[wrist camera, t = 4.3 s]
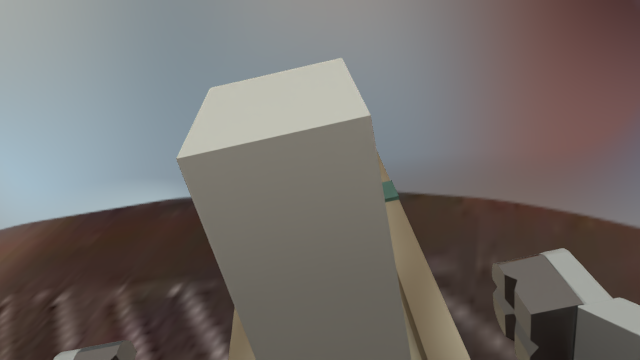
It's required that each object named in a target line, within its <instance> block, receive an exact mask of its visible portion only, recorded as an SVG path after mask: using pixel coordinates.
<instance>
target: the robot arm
mask: <svg viewBox="0 0 640 360" xmlns="http://www.w3.org/2000/svg"><path fill="white" fill-rule="evenodd" d="M492 279H493V280H494V282H495V284H496V285H497V289H496V290H495V291H494V293H493V303H494V309H495V313H496V317H497V320H498V322H499V324H500V327H501V329H502V331H503V332H504V334H505V336H506V337H507V338H509V339H511V340H513V341H514V342H515V354H516V356H517V358H518V359H519V360H640V305H637V304H635V303H632V302H630V301H628V300H625V299H623V298H615V299H613V298H612V297H611V296H610V295H609V294H608V293H607V292H606V291H605V290H604V289H603V288H602V287H601V285H600V284H599V283H598V282H597V281H596V280H595V279H594V278H593V277H592V276H591V275H590V274H589V273H588V271H587V270H586V269H585V268H584V267H583V266H582V265H581V264H580V263H579V262H578V261H577V260H576V259H575V257H574V256H573V255H572V254H571V253H570V252H569V251H568V250H566V249H564V248H562V249H557V250H553V251H548V252H544V253H540V254H536V255H532V256H527V257H522V258H518V259H513V260H508V261H504V262H499V263H495V264H493V268H492ZM136 353H137V351H136V349H135V347H134V346H133V344H132V343H131V341H125V340H124V341H119V342H113V343H108V344H102V345H97V346H91V347H86V348H82V349H78V350H72V351H66V352H61V353H60V354H58V355H57V356H56V357H55V358H54V359H53V360H134V359H135V356H136Z"/></svg>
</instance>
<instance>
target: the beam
mask: <svg viewBox="0 0 640 360" xmlns="http://www.w3.org/2000/svg"><path fill="white" fill-rule="evenodd" d="M377 156H378V162H379V168H380V174H381V180H382V186H383V192H384V198H385V204H386V210H387V216H388V222H389V228H390V234H391V240H392V246H393V252H394V258H395V264H396V270H397V276H398V282H399V288H400V294H401V300H402V306H403V312H404V318H405V324H406V330H407V336H408V342H409V348H410V354H411V360H470V357H469V355H468V353H467V351H466V348H465V346H464V344H463V342H462V340H461V337H460V335H459V333H458V331H457V328H456V326H455V324H454V322H453V319H452V317H451V315H450V313H449V311H448V308H447V306H446V304H445V302H444V299H443V297H442V295H441V293H440V290H439V288H438V286H437V284H436V282H435V279H434V277H433V275H432V273H431V270H430V268H429V266H428V264H427V261H426V259H425V257H424V255H423V253H422V250H421V248H420V246H419V244H418V241H417V239H416V237H415V235H414V233H413V230H412V228H411V226H410V224H409V221H408V219H407V217H406V215H405V212H404V210H403V208H402V206H401V204H400V201H399V196H398V194H397V191H396V189H395V187H394V185H393V183H392V181H390V179H389V177H388V175H387V173H386V170H385V168H384V166H383V163H382V161H381V159H380V157H379V155H378V152H377ZM228 360H256V359H255V356H254V353H253V351H252V348H251V346H250V343H249V341H248V338H247V336H246V333H245V331H244V328H243V326H242V323H241V321H240V318H239V316H238V313H237V311H236V308H235V311H234V319H233V327H232V335H231V342H230V350H229V358H228Z"/></svg>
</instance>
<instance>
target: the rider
mask: <svg viewBox="0 0 640 360" xmlns="http://www.w3.org/2000/svg"><path fill="white" fill-rule="evenodd" d="M176 159H177V162H178V164H179V167H180V170H181V172H182V175H183V177H184V179H185V182H186V185H187V187H188V190H189V192H190V195H191V197H192V200H193V202H194V205H195V207H196V210H197V212H198V215H199V217H200V220H201V222H202V225H203V227H204V230H205V233H206V235H207V238H208V240H209V243H210V245H211V248H212V250H213V253H214V255H215V258H216V260H217V263H218V265H219V268H220V270H221V273H222V275H223V278H224V280H225V283H226V285H227V288H228V290H229V293H230V296H231V298H232V301H233V303H234V306H235V308H236V311H237V313H238V316H239V318H240V321H241V323H242V326H243V328H244V331H245V333H246V336H247V338H248V341H249V343H250V346H251V348H252V351H253V353H254V356H255V359H256V360H411V354H410V348H409V342H408V336H407V330H406V324H405V318H404V312H403V306H402V300H401V294H400V288H399V282H398V276H397V270H396V264H395V258H394V252H393V246H392V240H391V234H390V228H389V222H388V216H387V210H386V204H385V198H384V192H383V186H382V180H381V174H380V168H379V162H378V156H377V150H376V144H375V138H374V132H373V126H372V120H371V115H370V113H369V111H368V109H367V107H366V105H365V103H364V101H363V99H362V97H361V95H360V93H359V91H358V89H357V87H356V85H355V83H354V81H353V79H352V77H351V75H350V73H349V72H348V69H347V67H346V65H345V63H344V61H343V59H342V58H339V59H334V60H330V61H326V62H321V63H317V64H313V65H309V66H304V67H300V68H295V69H291V70H286V71H282V72H278V73H274V74H269V75H265V76H260V77H256V78H252V79H247V80H243V81H239V82H234V83H230V84H226V85H221V86H217V87H212V88H210V89H209V91H208V93H207V96H206V98H205V100H204V102H203V104H202V106H201V108H200V110H199V112H198V114H197V116H196V119H195V121H194V123H193V125H192V127H191V129H190V131H189V133H188V135H187V137H186V139H185V142H184V144H183V146H182V148H181V150H180V152H179V154H178V156H177V158H176Z"/></svg>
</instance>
